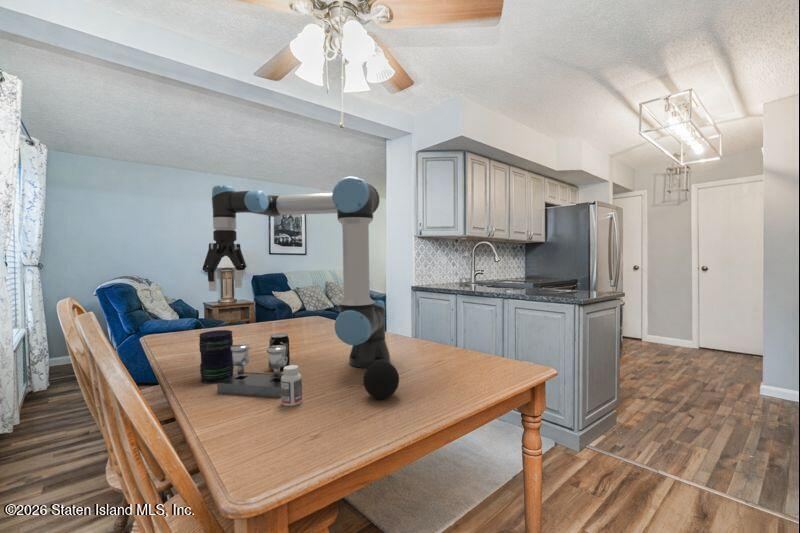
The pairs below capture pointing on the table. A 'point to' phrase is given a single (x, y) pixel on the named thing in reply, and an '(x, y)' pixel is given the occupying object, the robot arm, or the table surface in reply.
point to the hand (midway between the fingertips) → (226, 289)
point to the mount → (252, 384)
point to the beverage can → (281, 340)
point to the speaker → (381, 379)
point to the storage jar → (216, 356)
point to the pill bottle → (291, 386)
